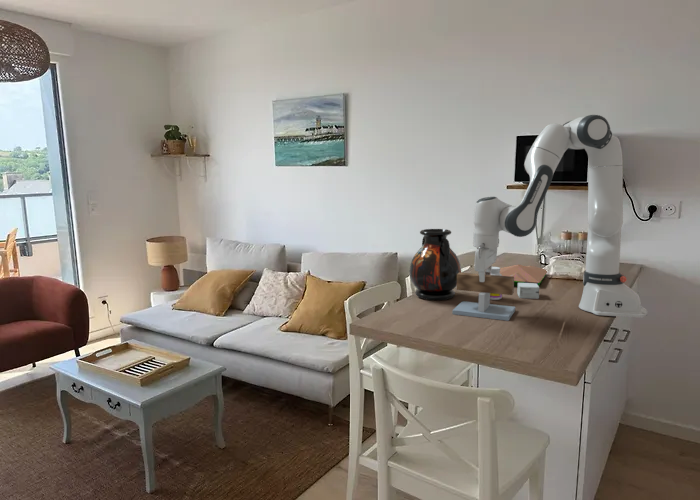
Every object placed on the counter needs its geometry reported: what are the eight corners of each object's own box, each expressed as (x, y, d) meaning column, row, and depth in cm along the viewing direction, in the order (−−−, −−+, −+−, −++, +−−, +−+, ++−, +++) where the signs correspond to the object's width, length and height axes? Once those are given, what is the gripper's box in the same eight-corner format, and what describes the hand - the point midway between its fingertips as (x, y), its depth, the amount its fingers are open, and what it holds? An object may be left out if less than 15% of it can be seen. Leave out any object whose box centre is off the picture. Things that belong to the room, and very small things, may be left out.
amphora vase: (400, 293, 213) (400, 229, 208) (442, 288, 221) (443, 226, 216) (425, 305, 193) (426, 234, 189) (471, 299, 201) (473, 231, 196)
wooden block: (513, 292, 178) (514, 276, 177) (511, 295, 174) (512, 278, 174) (459, 287, 187) (459, 272, 186) (456, 289, 184) (456, 274, 183)
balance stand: (515, 310, 183) (515, 289, 182) (508, 320, 171) (509, 298, 170) (462, 304, 193) (462, 285, 191) (452, 314, 180) (452, 293, 179)
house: (485, 286, 225) (485, 268, 223) (500, 272, 253) (501, 257, 252) (538, 291, 213) (538, 273, 212) (548, 276, 242) (548, 260, 241)
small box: (519, 298, 201) (519, 286, 200) (517, 293, 209) (517, 282, 208) (539, 299, 199) (539, 287, 198) (536, 294, 207) (536, 282, 206)
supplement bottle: (502, 300, 198) (503, 269, 196) (485, 300, 199) (486, 269, 197) (501, 296, 204) (501, 266, 202) (484, 296, 205) (485, 266, 203)
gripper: (488, 246, 167) (487, 285, 169) (500, 238, 185) (499, 274, 187) (470, 245, 170) (469, 284, 172) (483, 238, 188) (482, 273, 190)
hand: (485, 279), depth 180 cm, fingers open, 8 cm apart
